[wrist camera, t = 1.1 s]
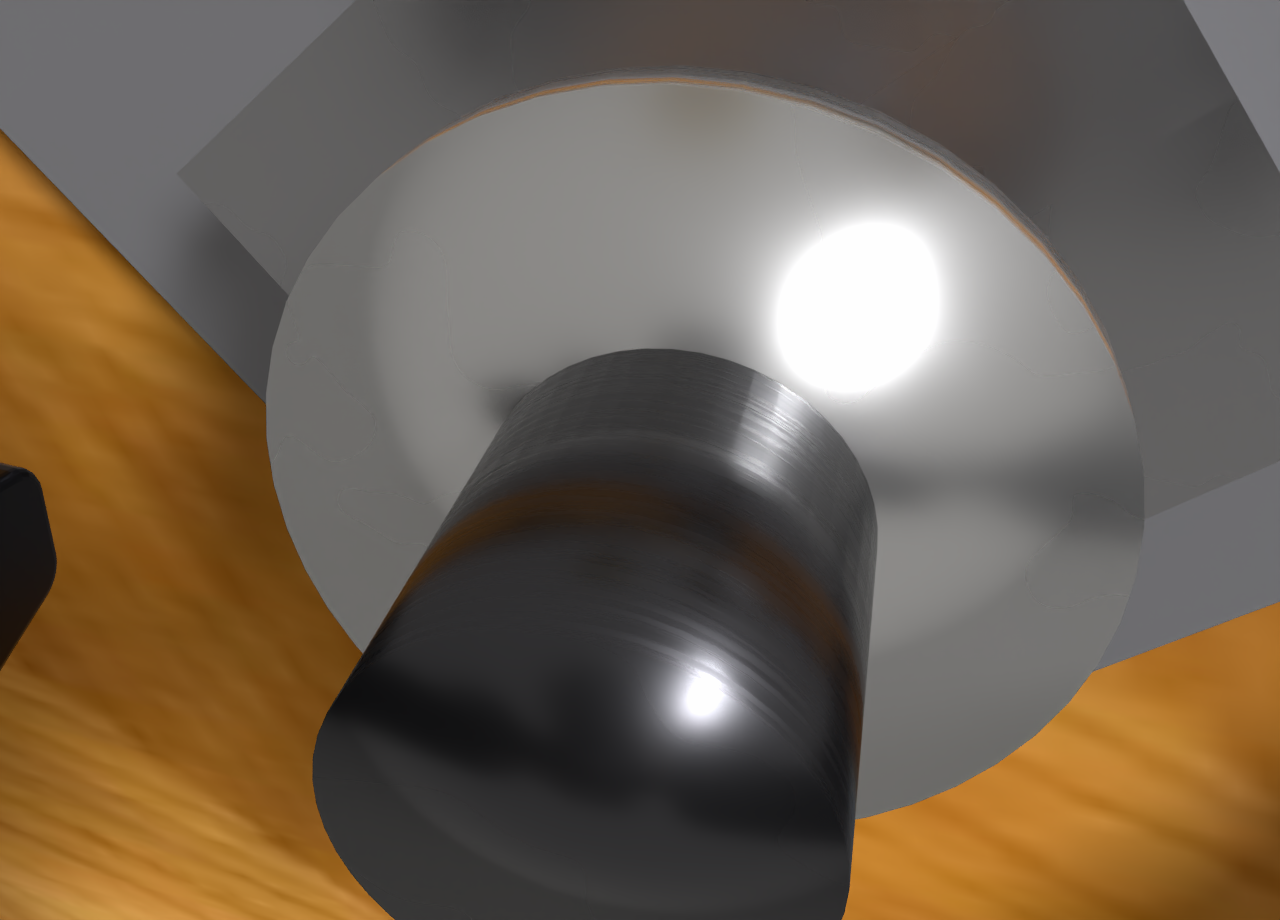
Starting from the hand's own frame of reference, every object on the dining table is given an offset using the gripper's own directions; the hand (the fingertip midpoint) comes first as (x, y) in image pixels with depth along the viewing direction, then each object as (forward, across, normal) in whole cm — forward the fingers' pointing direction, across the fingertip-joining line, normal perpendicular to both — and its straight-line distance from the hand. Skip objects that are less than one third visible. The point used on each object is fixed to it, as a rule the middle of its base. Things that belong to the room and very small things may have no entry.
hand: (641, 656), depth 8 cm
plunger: (+7, 0, 0) cm, 7 cm away
